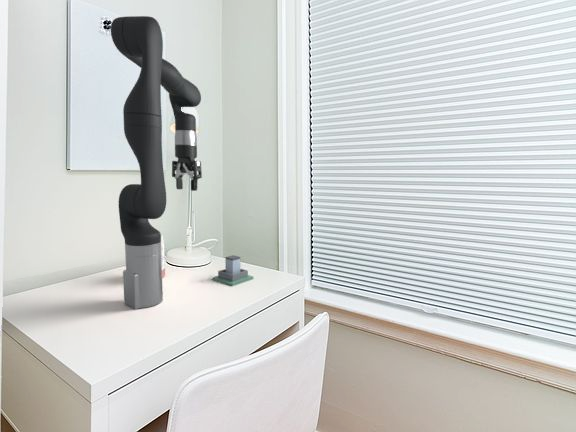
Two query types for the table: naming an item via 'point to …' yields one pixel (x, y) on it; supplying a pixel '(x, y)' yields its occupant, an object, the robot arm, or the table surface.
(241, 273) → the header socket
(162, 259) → the ink cartridge box
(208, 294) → the table surface
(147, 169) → the robot arm
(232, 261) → the block
